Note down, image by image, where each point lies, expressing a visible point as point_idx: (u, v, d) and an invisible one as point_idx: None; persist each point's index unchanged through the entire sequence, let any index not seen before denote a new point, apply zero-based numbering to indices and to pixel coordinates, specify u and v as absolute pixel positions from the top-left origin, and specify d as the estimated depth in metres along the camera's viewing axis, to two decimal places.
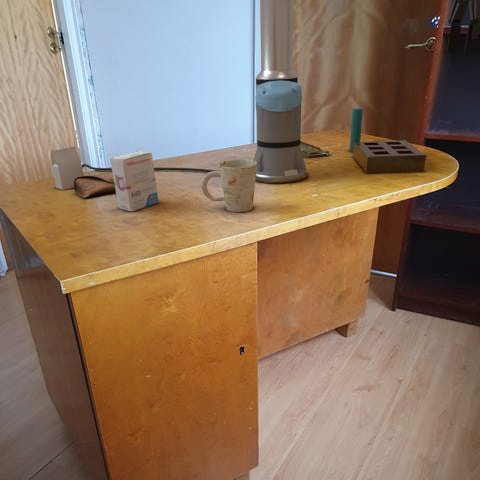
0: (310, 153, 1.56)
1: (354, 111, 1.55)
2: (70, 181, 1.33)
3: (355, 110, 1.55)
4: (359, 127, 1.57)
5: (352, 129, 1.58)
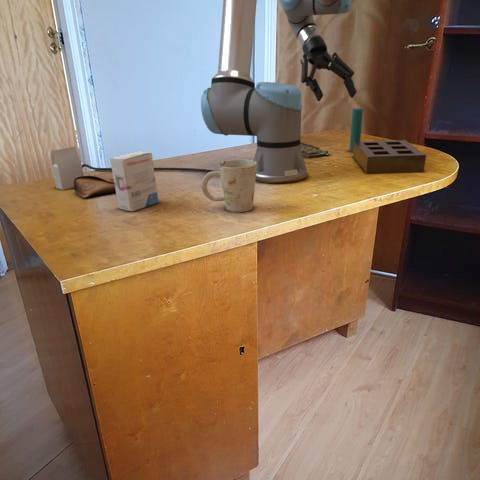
0: (310, 153, 1.56)
1: (354, 111, 1.55)
2: (70, 181, 1.33)
3: (355, 110, 1.55)
4: (359, 127, 1.57)
5: (352, 129, 1.58)
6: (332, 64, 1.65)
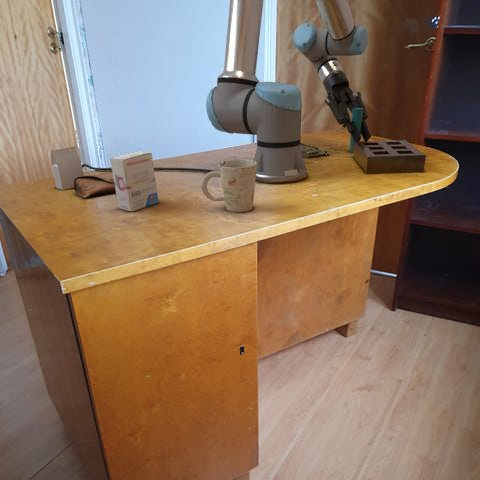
0: (310, 153, 1.56)
1: (354, 111, 1.55)
2: (70, 181, 1.33)
3: (355, 110, 1.55)
4: (359, 127, 1.57)
5: None
6: (351, 102, 1.59)
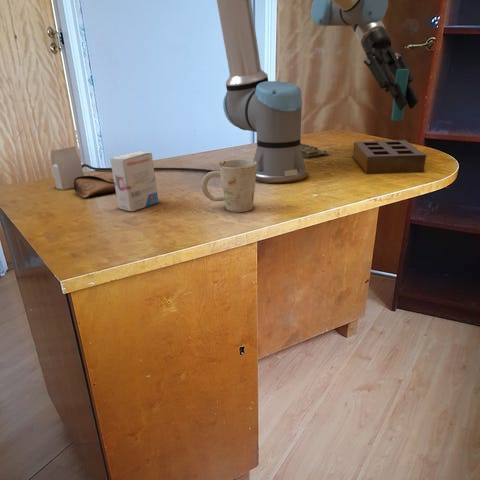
0: (309, 153, 1.56)
1: (399, 72, 1.34)
2: (70, 181, 1.33)
3: (400, 71, 1.34)
4: (403, 91, 1.36)
5: None
6: (393, 63, 1.38)
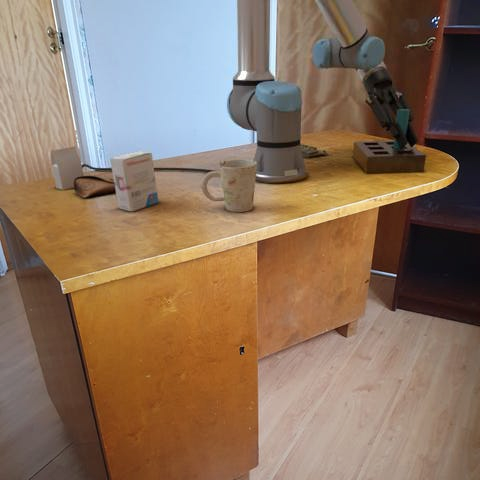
0: (309, 153, 1.56)
1: (400, 112, 1.37)
2: (70, 181, 1.33)
3: (401, 111, 1.37)
4: (404, 131, 1.39)
5: None
6: (394, 102, 1.41)
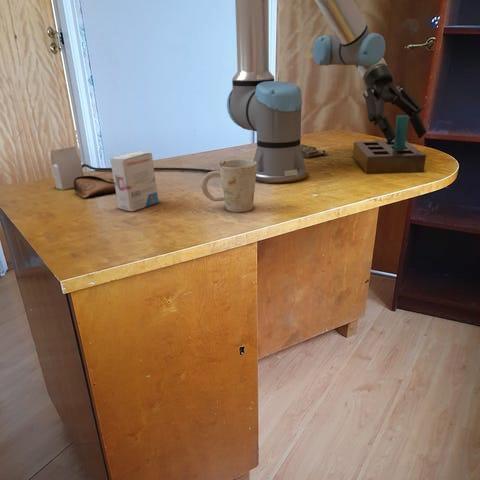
0: (309, 153, 1.56)
1: (399, 119, 1.38)
2: (70, 181, 1.33)
3: (400, 118, 1.38)
4: (403, 137, 1.40)
5: (396, 139, 1.41)
6: (398, 98, 1.42)
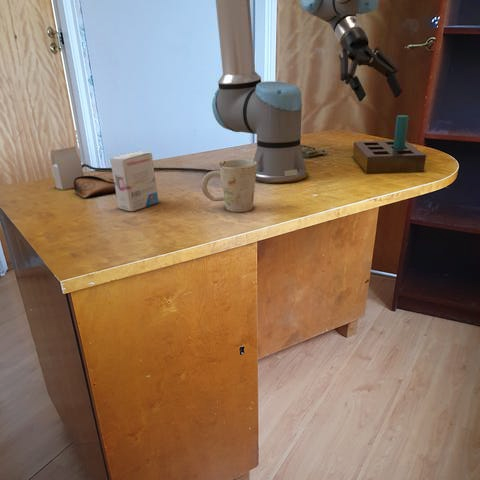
0: (309, 153, 1.56)
1: (399, 119, 1.38)
2: (70, 181, 1.33)
3: (400, 118, 1.38)
4: (403, 137, 1.40)
5: (396, 139, 1.41)
6: (374, 60, 1.46)
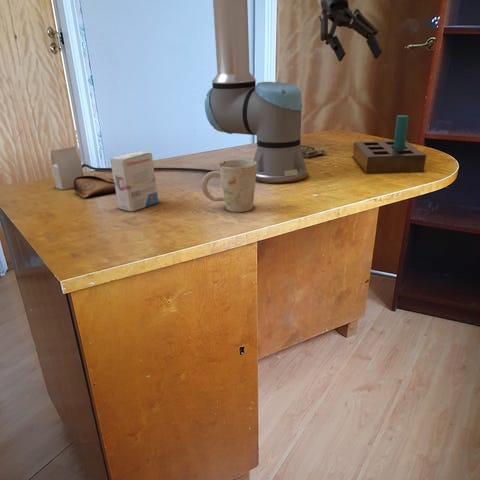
0: (309, 153, 1.56)
1: (399, 119, 1.38)
2: (70, 181, 1.33)
3: (400, 118, 1.38)
4: (403, 137, 1.40)
5: (396, 139, 1.41)
6: (354, 21, 1.48)
